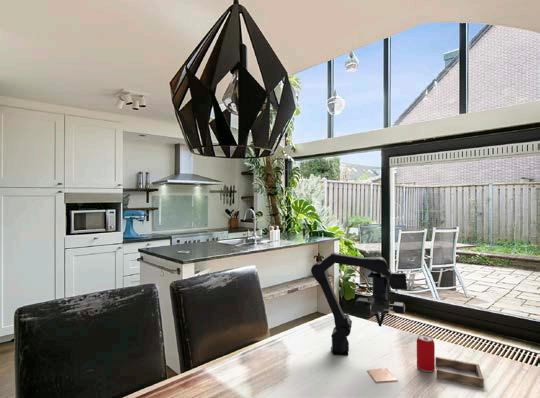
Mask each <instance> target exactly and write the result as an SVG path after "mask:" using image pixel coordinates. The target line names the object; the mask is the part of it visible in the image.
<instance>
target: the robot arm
mask: <svg viewBox="0 0 540 398" xmlns="http://www.w3.org/2000/svg"><path fill="white" fill-rule="evenodd" d="M387 263H388V262H387V260H386V259H385V258H384V257H382V256H367V257H364V256H363V257H362V256H358V255H357V256H356V255H349V254H344V253H337V252H332V253H331V254H330V255H328V256H327V257H326V258H323V260H322V261H317V262H314V264H313V265H312V266H311V269H310V272H311V275H312V276H313V278H314V280H315V281H316V282H317V283H318V285H320V288H321V290H322V292H323V294H324V297H325V299H326V301H327V303H328V306H329V308H330V311H331V313H332V316H333V320H334V321H333V322H334V327H333V329H332V333H331V347H330V349H331V354H332V355H333V356H335V355H336V356H348V355H349V351H350V349H349V347H350V346H349V345H350V342H349V339H348V337H349V336H350V334H351V330H352V324H353V320H351V318H350V314H349V312H348V313H345V312H344V311H343V309H342V307H341V304H340V303H339V300H338V298H337V296H336V293H335V291H334V288H333V286H332V284H331V282H330V277H329V271H328V269H330V268H331V267H332V266H333V265H334V264H339V265H340V264H341V265H346V266H351V267H357V268H358V267H359V268H363V269H366V270H368V271H370V272H369V273H367V278H371V280H372V282H371V284H372V296H371V299H370V300H371V301H370V300H369V301H368V298H367V297H366V298H365V297H358V298H357V299H356V300H355V308H357V309H364V308H366V306H367V307H370V309H369V311H370V312H372V313H373V314H374V316H375V318H376V321H377V325H378V327H380V328H381V327H382V325H383V322H384V319H385V316H386V314H390V311H391V310H392V311H393V312H394V313H395V314H401V315H404V314H405V310H406V304H405V303H404V302H398V301H394V303H390V299H388V287H389V288H390V289H391V290H397V291H398V290H399V291H407V289H408V282H407V274H406V272H392V271H391V269H390V268H389V267H388V264H387Z"/></svg>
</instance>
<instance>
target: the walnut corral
mask: <svg viewBox="0 0 540 398" xmlns="http://www.w3.org/2000/svg"><path fill="white" fill-rule="evenodd" d="M435 366H437V368H436V369H435V371H436V375H435V376H436V377H435V378H436V379H439V380H445V381H449V382H454V383H457V384H458V383H459V384H463V385H466V386H467V385H468V386H472V387H473V386H474V387H477V388H483V389H484V388H485V386H484V383H485V382H484V377H483V376H484V375H483V373H482V369H481V366H480V364H479V363H473V362H468V361H463V360H456V359H452V358H446V357H440V356H435Z"/></svg>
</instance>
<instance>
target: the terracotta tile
mask: <svg viewBox="0 0 540 398" xmlns="http://www.w3.org/2000/svg"><path fill="white" fill-rule="evenodd" d="M367 373H368V374H369V376H370V377H371V378H372V379H373V381H374V382H375V383H376V384H379V383H394V382H395V383H396V382H398V379H397V377H395V375H394V374H393V373H392V372H391V371H390V370H389V368H373V369H367Z"/></svg>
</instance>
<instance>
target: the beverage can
mask: <svg viewBox="0 0 540 398" xmlns="http://www.w3.org/2000/svg"><path fill="white" fill-rule="evenodd" d="M435 350H436V349H435V340H434V338H433V337H432V336H430V335H427V334H419V335H418V336H417V338H416V367H417V369H419V370H420V371H422V372H426V373H430V372H431V373H432V372H433V371H436V369H435V368H436V364H435V357H436V356H435V354H436V352H435Z"/></svg>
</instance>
